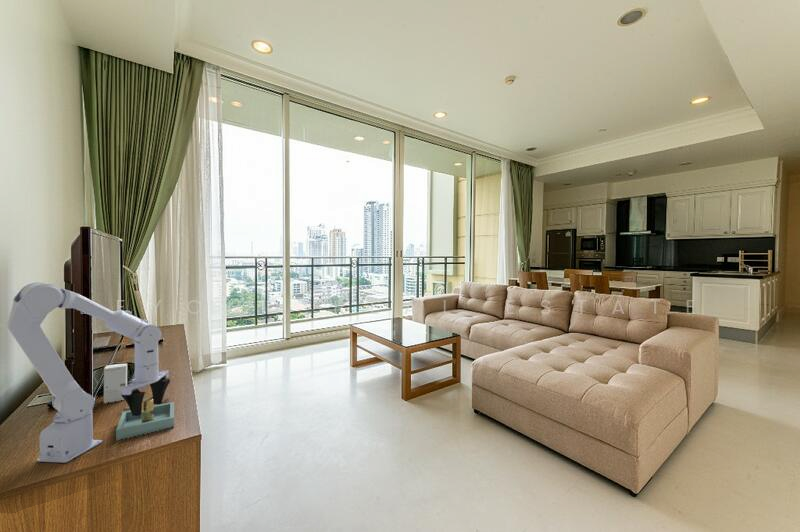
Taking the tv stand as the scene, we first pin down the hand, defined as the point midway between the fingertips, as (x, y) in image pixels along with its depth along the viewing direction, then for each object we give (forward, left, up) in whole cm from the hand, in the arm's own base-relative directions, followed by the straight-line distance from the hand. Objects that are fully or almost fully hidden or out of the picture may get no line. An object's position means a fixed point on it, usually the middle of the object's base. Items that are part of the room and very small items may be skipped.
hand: (147, 409), depth 100 cm
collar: (+11, +10, -5) cm, 16 cm away
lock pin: (0, 0, -4) cm, 4 cm away
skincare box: (+16, +26, -5) cm, 31 cm away
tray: (0, 0, -5) cm, 5 cm away
